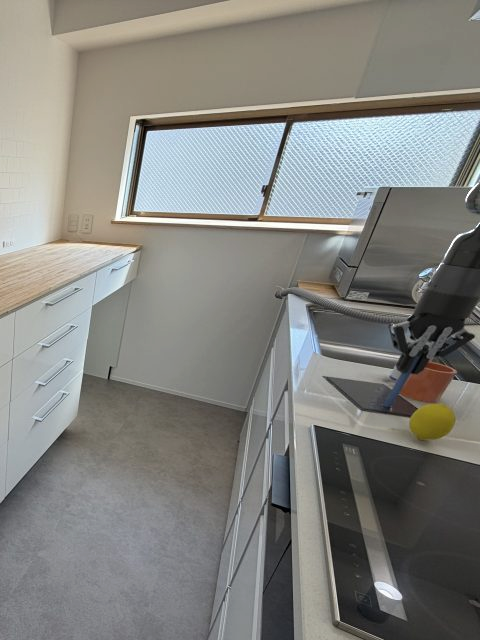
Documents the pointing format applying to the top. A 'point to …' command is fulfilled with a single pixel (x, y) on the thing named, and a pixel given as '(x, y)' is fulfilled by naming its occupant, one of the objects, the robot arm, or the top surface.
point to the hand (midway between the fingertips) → (407, 371)
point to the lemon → (432, 421)
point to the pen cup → (428, 383)
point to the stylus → (401, 382)
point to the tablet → (371, 397)
